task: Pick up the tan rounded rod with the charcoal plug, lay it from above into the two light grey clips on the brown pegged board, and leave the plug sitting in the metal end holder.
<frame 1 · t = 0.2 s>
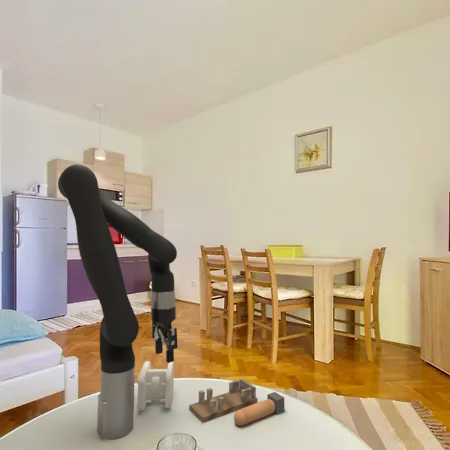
hand: (164, 357, 96), 17 cm above the table, tool pointing down, fingers open, 8 cm apart
tan rounded rod: (259, 417, 95), on the table
brown pegged board: (218, 408, 99), on the table
cable organizer: (156, 403, 103), on the table
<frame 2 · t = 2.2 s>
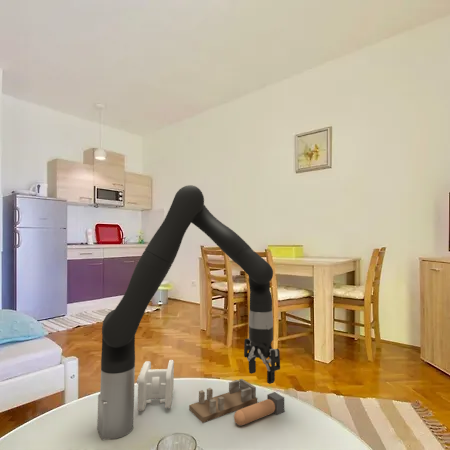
hand: (261, 377, 96), 11 cm above the table, tool pointing down, fingers open, 8 cm apart
nothing on the table moved.
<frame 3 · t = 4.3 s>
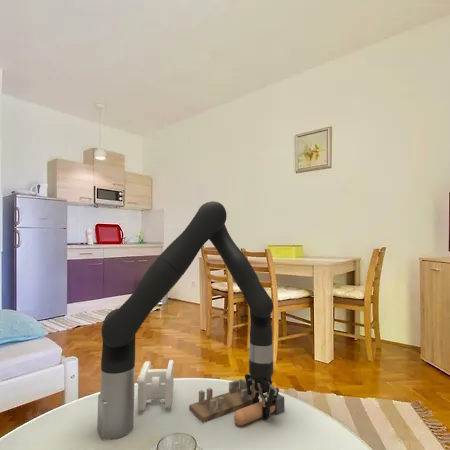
hand: (260, 414, 95), 1 cm above the table, tool pointing down, fingers closed on tan rounded rod, 4 cm apart
tan rounded rod: (259, 416, 95), on the table, touching gripper
everything else where it was.
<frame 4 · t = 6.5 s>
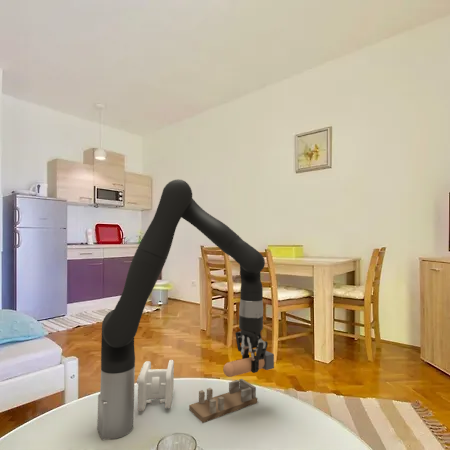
hand: (250, 369, 97), 14 cm above the table, tool pointing down, fingers closed on tan rounded rod, 4 cm apart
tan rounded rod: (248, 371, 96), point 13 cm above the table, touching gripper
everything else where it was.
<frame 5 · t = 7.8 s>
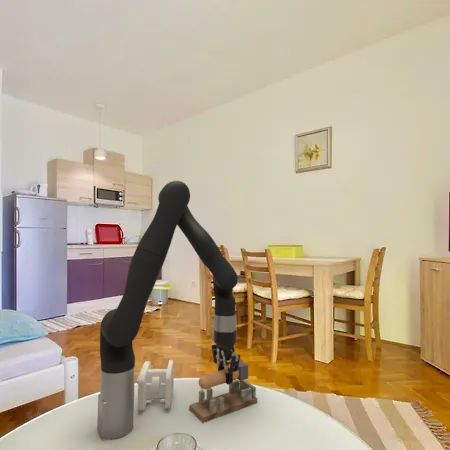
hand: (225, 380, 101), 8 cm above the table, tool pointing down, fingers closed on tan rounded rod, 4 cm apart
tan rounded rod: (223, 382, 101), point 7 cm above the table, touching gripper
everything else where it was.
when the fingers open (3 cm above the table, at t = 9.0 s): tan rounded rod drops 1 cm, resting on brown pegged board.
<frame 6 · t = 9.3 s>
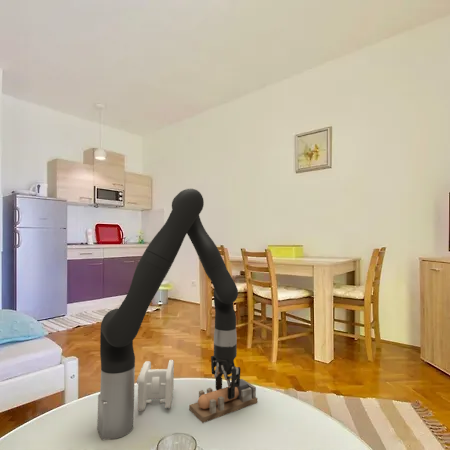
hand: (224, 393, 101), 4 cm above the table, tool pointing down, fingers open, 6 cm apart
tan rounded rod: (222, 401, 100), point 1 cm above the table, touching brown pegged board
everything else where it was.
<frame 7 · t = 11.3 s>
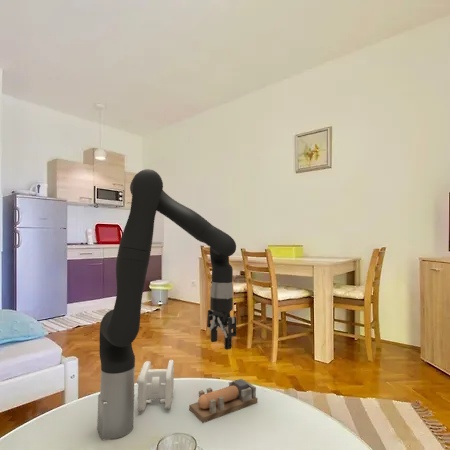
hand: (220, 345, 102), 19 cm above the table, tool pointing down, fingers open, 8 cm apart
nothing on the table moved.
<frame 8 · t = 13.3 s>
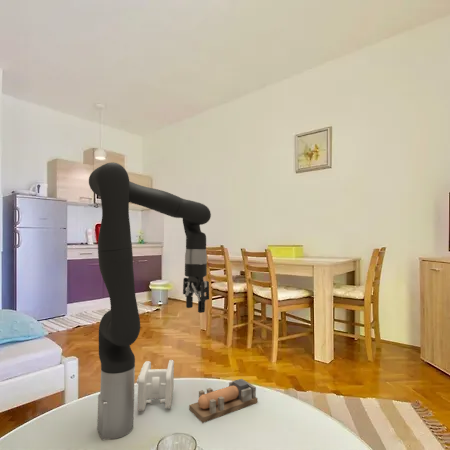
hand: (195, 310, 106), 30 cm above the table, tool pointing down, fingers open, 8 cm apart
nothing on the table moved.
at the end: tan rounded rod 0.0 cm from the target spot on the brown pegged board, point 1.5 cm above the brown pegged board's base; tan rounded rod tilted 0°; the gripper is holding nothing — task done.
